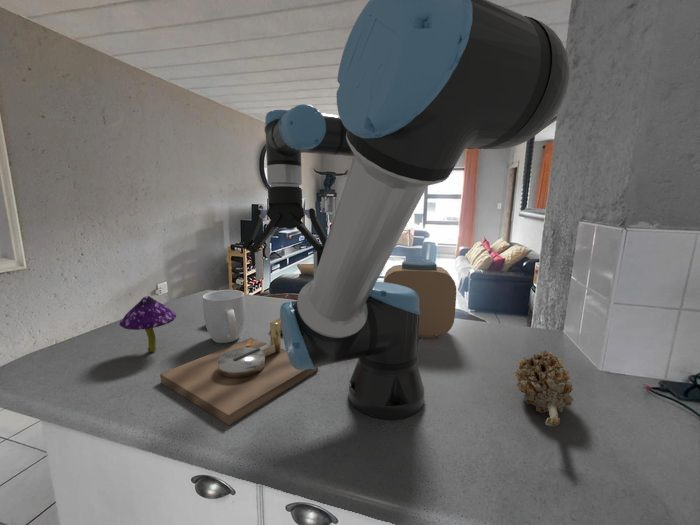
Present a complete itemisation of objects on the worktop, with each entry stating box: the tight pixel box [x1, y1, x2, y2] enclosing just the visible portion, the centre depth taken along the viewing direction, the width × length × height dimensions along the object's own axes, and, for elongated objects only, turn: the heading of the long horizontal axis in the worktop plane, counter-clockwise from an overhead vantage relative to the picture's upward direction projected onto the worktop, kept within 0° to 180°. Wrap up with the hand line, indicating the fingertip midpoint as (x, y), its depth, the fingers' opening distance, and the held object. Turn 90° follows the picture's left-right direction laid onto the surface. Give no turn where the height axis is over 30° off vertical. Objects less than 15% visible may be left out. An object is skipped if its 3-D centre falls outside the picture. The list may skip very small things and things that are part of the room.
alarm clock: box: [383, 261, 457, 339], centre depth 99 cm, size 21×10×22 cm, turn 82°
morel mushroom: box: [514, 350, 575, 427], centre depth 61 cm, size 22×10×10 cm, turn 161°
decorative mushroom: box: [119, 295, 177, 353], centre depth 84 cm, size 12×12×15 cm
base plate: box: [159, 337, 319, 426], centre depth 74 cm, size 24×24×2 cm
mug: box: [202, 289, 246, 344], centre depth 92 cm, size 15×11×13 cm
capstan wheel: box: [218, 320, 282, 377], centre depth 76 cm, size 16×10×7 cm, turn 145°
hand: (288, 280), depth 77 cm, fingers open, 13 cm apart
